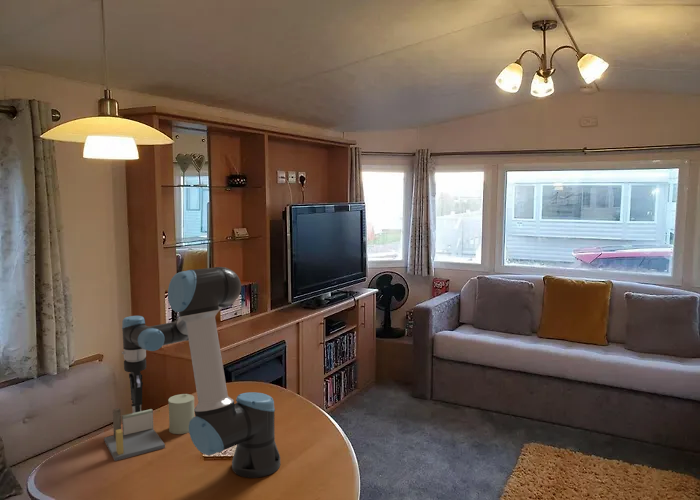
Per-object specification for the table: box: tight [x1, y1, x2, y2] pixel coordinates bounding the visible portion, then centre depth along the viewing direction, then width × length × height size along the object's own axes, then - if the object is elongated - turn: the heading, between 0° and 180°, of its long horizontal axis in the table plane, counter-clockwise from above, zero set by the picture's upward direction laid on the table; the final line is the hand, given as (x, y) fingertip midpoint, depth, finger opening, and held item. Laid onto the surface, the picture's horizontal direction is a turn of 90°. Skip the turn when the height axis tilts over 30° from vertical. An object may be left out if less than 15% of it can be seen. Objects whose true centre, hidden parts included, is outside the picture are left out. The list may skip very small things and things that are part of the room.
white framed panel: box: [121, 408, 154, 435], centre depth 191 cm, size 10×2×7 cm, turn 125°
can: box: [167, 393, 195, 435], centre depth 197 cm, size 9×9×12 cm
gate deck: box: [103, 408, 166, 462], centre depth 184 cm, size 17×16×11 cm
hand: (137, 421), depth 197 cm, fingers closed
